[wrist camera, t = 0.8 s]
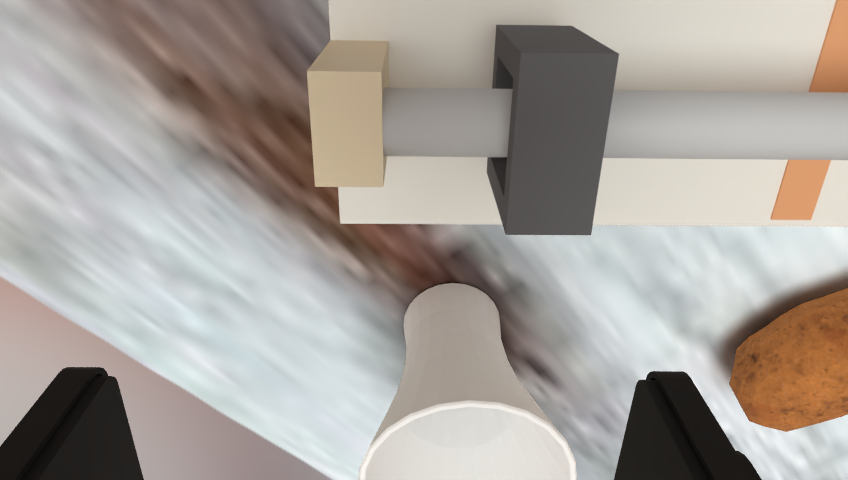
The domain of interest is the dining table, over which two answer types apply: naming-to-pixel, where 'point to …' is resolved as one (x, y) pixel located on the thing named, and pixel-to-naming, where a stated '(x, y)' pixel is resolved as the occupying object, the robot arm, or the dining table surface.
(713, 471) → the robot arm
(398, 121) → the pipe stand
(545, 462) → the cup
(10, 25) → the dining table surface
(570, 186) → the collar
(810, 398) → the potato
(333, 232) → the dining table surface
